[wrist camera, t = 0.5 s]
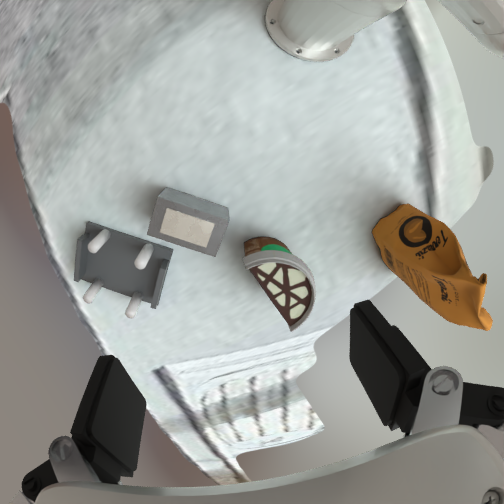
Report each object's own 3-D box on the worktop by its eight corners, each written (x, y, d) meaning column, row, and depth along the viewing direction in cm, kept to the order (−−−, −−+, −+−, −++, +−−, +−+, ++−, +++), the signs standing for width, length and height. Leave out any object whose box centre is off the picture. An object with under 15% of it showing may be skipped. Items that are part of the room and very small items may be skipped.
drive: (166, 186, 37) (157, 197, 31) (228, 207, 39) (229, 221, 33) (156, 219, 39) (146, 235, 33) (216, 239, 41) (215, 257, 35)
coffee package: (407, 192, 40) (509, 245, 20) (429, 247, 45) (509, 311, 25) (363, 227, 42) (452, 304, 22) (390, 279, 47) (461, 359, 27)
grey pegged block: (88, 220, 37) (71, 234, 32) (173, 248, 40) (166, 266, 35) (82, 277, 41) (67, 295, 35) (158, 303, 44) (151, 325, 39)
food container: (312, 275, 45) (333, 311, 36) (279, 294, 45) (292, 334, 36) (275, 211, 40) (291, 237, 31) (238, 234, 41) (243, 265, 31)
